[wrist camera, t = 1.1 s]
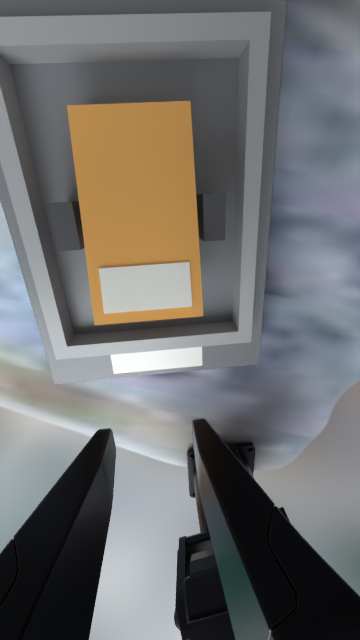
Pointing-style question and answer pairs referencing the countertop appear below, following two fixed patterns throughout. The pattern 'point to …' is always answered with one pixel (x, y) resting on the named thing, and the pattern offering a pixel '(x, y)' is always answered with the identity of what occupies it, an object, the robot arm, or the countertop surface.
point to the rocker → (138, 209)
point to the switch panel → (209, 162)
